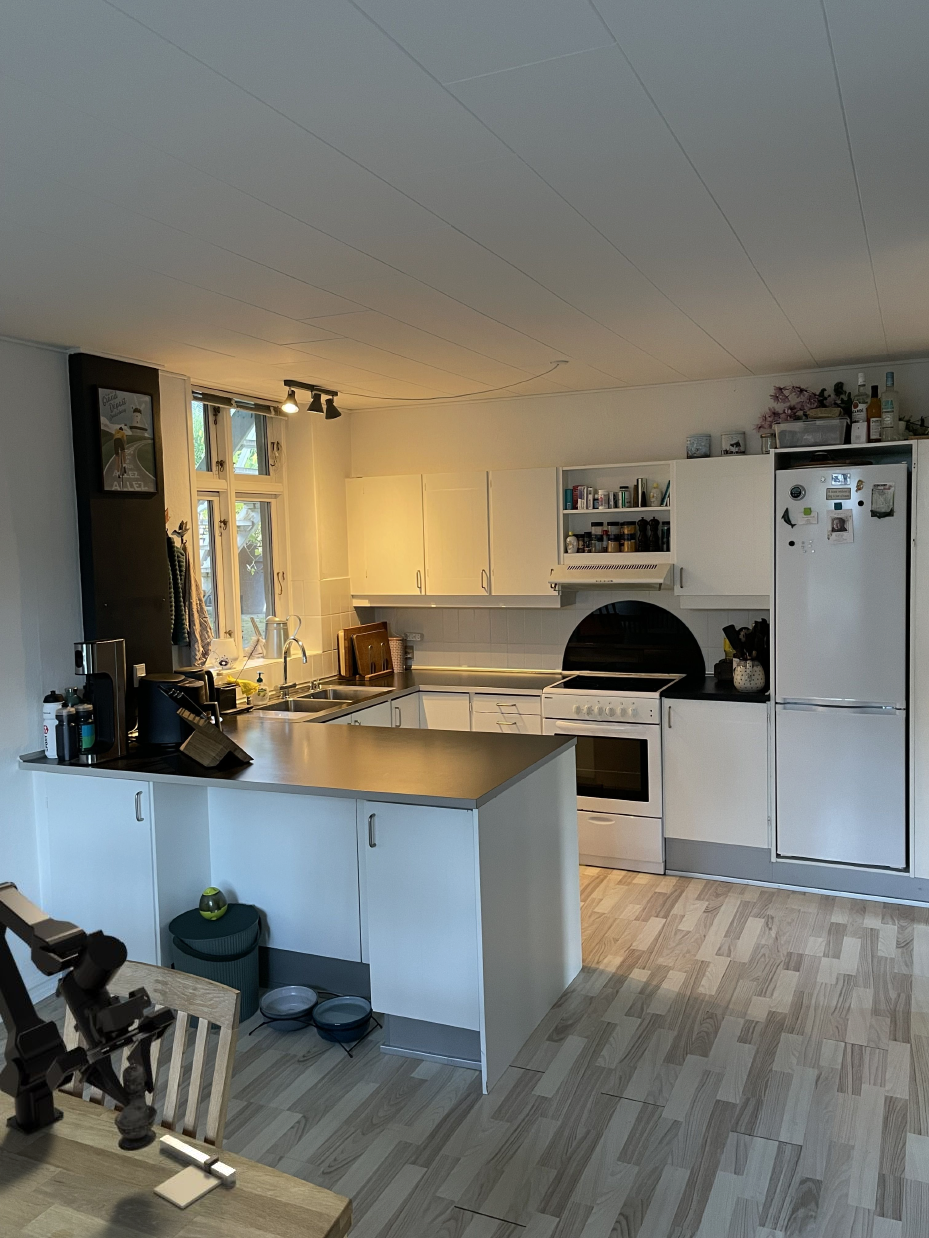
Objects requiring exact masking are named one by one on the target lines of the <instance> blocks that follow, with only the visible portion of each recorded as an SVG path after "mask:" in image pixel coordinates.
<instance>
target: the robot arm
mask: <svg viewBox="0 0 929 1238" xmlns="http://www.w3.org/2000/svg"><path fill="white" fill-rule="evenodd" d="M7 929H9V930H10V931H11V932H12V933H13V934H14V935H16V936H17V937H18V938H19V939H20V940H22V941H23V943H25V944H26V945H27V946H28V947H29V948H30V961H31V962H32V963H33V965H34V966H35V968H36V969H37V970H38V971H39V972H40V973H41V974H43V975H44V976H45V977H52V976H54V975H57V974H59V973H62V972H64V971H67V970H69V971H68V972H67V973H66V974H65V975H64V976H61V977H58V979H57V987H56V989H55V998H56V999H59V998H61V997H63V1000H64V1001H65V1003H66V1005H67V1006H68V1009H69V1011H70V1014H71V1015H72V1017H73V1019H74V1021H75V1024H74V1025H73V1029H74V1031H75V1033H76V1034H78V1033H79V1032H80V1033H81V1034H82V1036H83V1038H84V1040H85V1042H86V1045H87V1046H88V1047H87V1048H86V1049H85V1048H84V1047H82V1046H80V1045H78V1046H76V1047H74V1048H72V1049H70V1050H68V1047H67V1045H66V1043H65V1041H64V1039H63V1038H62V1036H61V1034H60V1031H59V1029H58V1025H57V1023H56V1022H55V1021H54V1020H52V1019H51V1020H49V1021H46V1020H44V1019H42V1018H41V1017H40V1016H39V1015H38V1013H37V1011H36V1008H35V1005H34V1004H33V1001H32V999H31V996H30V993H29V991H28V988H27V986H26V984H25V981H24V979H23V977H22V974H21V972H20V970H19V967H18V965H17V962H16V960H15V958H14V955H13V952H12V950H11V948H10V945H9V943H8V941H7V938H6V933H7ZM128 954H129V953H128V948H127V946H126V944H125V943H124V942H123V941H121V939H119V938H118V937H115V936H113V935H108V934H105V933H104V932H103V930H102V929H97V930H95V931H92V932H90V933H87V932H86V931H85V930H84V928H82V927H81V926H78V925H76V924H75V923H72V922H71V921H66V920H56V919H53V918H52V917H51V916H50V915H48V914H47V913H46V912H45V911H43V910H42V909H41V908H40V907H39V906H38V905H36V904H35V903H33V902H32V901H31V900H30V899H28V897H26V896H25V895H24V894H22V893H21V892H20V891H19V888H18V887H17V884H15V882H14V881H4V882H0V1018H1V1020H2V1023H3V1025H4V1027H5V1030H6V1033H7V1037H6V1043H5V1047H4V1053H3V1055H4V1059H5V1062H6V1064H5V1065H4V1067H3V1069H2V1070H1V1071H0V1092H2V1093H4V1094H6V1095H8V1096H10V1097H11V1098H12V1099H13V1098H14V1099H13V1100H14V1101H13V1102H14V1111H15V1113H14V1115H12V1116H10V1117H8V1118H7V1119H6V1124H8V1125H10V1126H11V1127H13V1128H15V1129H16V1130H17V1131H19V1132H21V1133H23V1134H25V1135H29V1134H32V1133H33V1132H35V1131H37V1130H39V1129H41V1128H43V1127H45V1126H47V1125H49V1124H51V1123H53V1122H54V1121H57V1120H58V1119H61V1118H62V1117H64V1115H65V1114H64V1113H65V1112H64V1111H63V1110H61V1109H59V1108H58V1107H56V1106H55V1100H54V1092H55V1091H57V1090H59V1089H61V1088H64V1087H65V1086H68V1085H69V1084H71V1083H72V1081H73V1079H74V1076H75V1072H77V1071H78V1072H79V1073H80V1076H81V1077H80V1078H79V1079H78V1083H79V1084H80V1085H82V1084H88V1085H90V1086H92V1087H94V1088H96V1089H97V1090H99V1091H101V1092H103V1093H105V1094H106V1095H107V1096H108V1097H110V1098H111V1099H113V1100H114V1101H116V1102H117V1103H119V1104H120V1105H121V1106H123V1108H124V1107H127V1106H129V1104H130V1100H129V1098H128V1095H127V1093H126V1091H125V1089H124V1088H123V1083H122V1082H121V1080H120V1078H119V1077H118V1075H117V1073H116V1071H115V1070H114V1068H113V1063H112V1056H111V1055H112V1054H114V1053H117V1052H119V1051H121V1050H123V1049H125V1048H127V1050H128V1052H129V1054H128V1055H127V1057H126V1058H125V1060H126V1061H127V1062H128V1065H131V1064H130V1062H131V1060H133V1061H134V1062H135V1063H134V1064H138V1065H140V1066H141V1067H142V1068H143V1075H144V1085H146V1086H147V1091H146V1092H147V1093H148V1094H149V1095H151V1094H153V1093H154V1092H155V1084H154V1083H155V1082H154V1077H153V1069H152V1067H153V1066H152V1060H151V1059H152V1058H151V1054H152V1053H151V1049H152V1048H151V1047H152V1043H154V1042H156V1041H159V1040H161V1039H162V1038H164V1037H165V1035H166V1034H167V1033H168V1031H170V1029H171V1028H172V1027H173V1026H174V1024H175V1023H176V1021H177V1020H178V1018H177V1017H176V1014H175V1013H174V1011H173V1010H172V1009H171V1008H170V1007H167V1006H163V1007H160V1008H158V1009H156V1010H154V1011H152V1012H149V1013H148V1014H146V1015H145V1013H144V1010H146V1009H149V1008H150V1007H152V999H151V997H150V993H148V991H147V990H146V988H145V987H144V986H143V985H142V986H140V987H138V988H136V989H133V990H131V991H129V992H128V999H125V1000H123V1001H121V999H120V998H119V997H118V995H117V994H116V995H115V994H114V995H111V994H110V992H109V990H108V988H107V987H108V986H109V985H110V984H111V982H112V981H113V980H114V979H115V977H116V975H118V972H119V971H120V970H121V969H122V967H123V966H124V964H125V963H126V961H127V959H128ZM141 1019H142V1020H141ZM136 1020H137V1021H139V1020H141V1021H140V1023H138V1025H137V1026H136V1027H134V1028H132V1029H129V1028H131V1027H133V1025H135V1023H136Z"/></svg>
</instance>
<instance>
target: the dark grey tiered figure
mask: <svg viewBox="0 0 929 1238" xmlns="http://www.w3.org/2000/svg"><path fill="white" fill-rule="evenodd" d="M134 1063H135V1062H134V1061H133V1060H131V1062H130V1064H131V1065H130V1064H128V1066H126V1067H124V1070H123V1071H122V1086H123V1088H124V1089H125V1091H126V1093H127V1095H128V1098H129V1100H130V1104H129V1106H127V1107H124V1106H123V1110H121V1111H120V1112H118V1114H117V1115H115V1118H114V1120H113V1122H114V1125H115V1126H116V1129H117V1131H118V1132H119V1134H120V1135H121V1137H120V1138H119V1140H118V1143H117V1147H118V1148H119V1149H120V1150H123V1151H124V1152H125V1151H126V1152H136V1151H140V1150H143V1149H145V1148H147V1147H150V1145H152V1144H153V1143H154V1142H155V1141H156V1139H157V1132H156V1131H155V1130H154V1129H153V1127H154V1124H155V1122H156V1117H157V1116H158V1110H157V1108H156V1107H154V1106H153V1105H149V1104H147V1100H146V1097H147V1096H146V1092H147V1086H146V1085H144V1075H143V1068H142V1067H141V1066H140V1065H138V1064H134Z"/></svg>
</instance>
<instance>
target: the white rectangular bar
mask: <svg viewBox="0 0 929 1238" xmlns="http://www.w3.org/2000/svg"><path fill="white" fill-rule="evenodd" d="M159 1148H160V1149H161V1150H163V1151H165V1152H167V1153H169V1154H171V1155H172V1156H174V1157H176V1158H178V1159H180V1160H181V1161H183V1160H184V1161H183V1162H186V1163H187V1164H189V1165H190V1166H191V1165H194V1166H195V1167H197V1168H199V1169H201V1170H203V1171H205V1172H206V1173H208V1174H210V1175H212V1176H214V1177H216V1178H217V1179H219V1180H221V1183H222V1182H223V1183H224V1184H225V1185H228V1186H229V1185H230V1184H232V1183H233V1182H235V1181H236V1180H237V1175H236V1169H233V1168H232V1167H230V1166H228V1165H226V1164H224V1163H222V1162H220V1159H219V1158H220V1157H219V1156H218V1155H216V1154H213V1155H211V1156H209V1155H207V1154H205V1153H203V1152H201V1151H199V1150H197V1149H195V1148H194V1147H192V1146H190V1145H189V1144H187V1143H184V1142H183V1141H181V1140H179V1139H177V1138H175V1137H173V1136H171V1135H169V1134H166V1135H164V1136H162V1137H161V1138H159Z"/></svg>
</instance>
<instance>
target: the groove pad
mask: <svg viewBox="0 0 929 1238" xmlns="http://www.w3.org/2000/svg"><path fill="white" fill-rule="evenodd" d="M221 1184H222V1181H221V1180H219V1179H217V1178H216V1177H214V1176H212V1175H210V1174H208V1173H206V1172H205V1171H203V1170H201V1169H199V1168H197V1167H195V1166H194V1165H191V1164H190V1166H188V1167H186V1168H184V1169H183V1170H181V1171H180V1172H179V1173H177V1174H175V1175H173V1176H172V1177H170V1178H169V1179H167V1180H165V1181H164V1182H163V1183H161V1184H159V1185H158V1186H156V1187H154V1188H153V1192H154V1193H156V1194H157V1195H158V1196H160V1197H162V1198H164V1199H166V1200H167V1201H169V1202H171V1203H172V1204H174V1205H176V1206H177V1207H179V1208H181V1209H185V1208H186V1207H188V1206H189V1205H191V1204H192V1203H194V1202H195V1201H196V1200H198V1199H199V1198H201V1197H203V1196H204V1195H205V1194H207V1193H209V1192H210V1191H211V1190H213V1189H215V1188H216V1187H218V1186H219V1185H221Z"/></svg>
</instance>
